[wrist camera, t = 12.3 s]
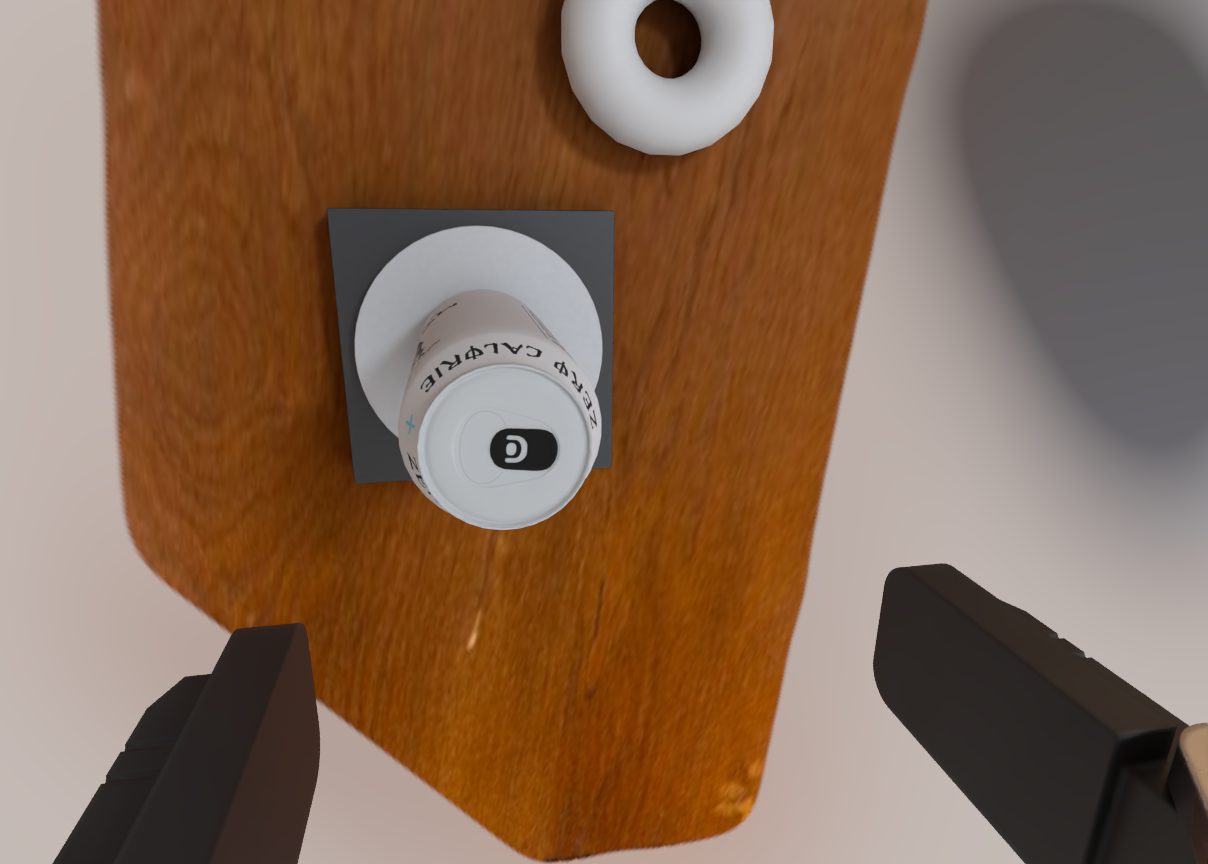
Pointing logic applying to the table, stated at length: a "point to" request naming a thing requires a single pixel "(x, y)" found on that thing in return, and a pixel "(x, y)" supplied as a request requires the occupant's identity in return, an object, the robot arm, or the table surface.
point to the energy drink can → (496, 414)
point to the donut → (660, 105)
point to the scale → (446, 268)
